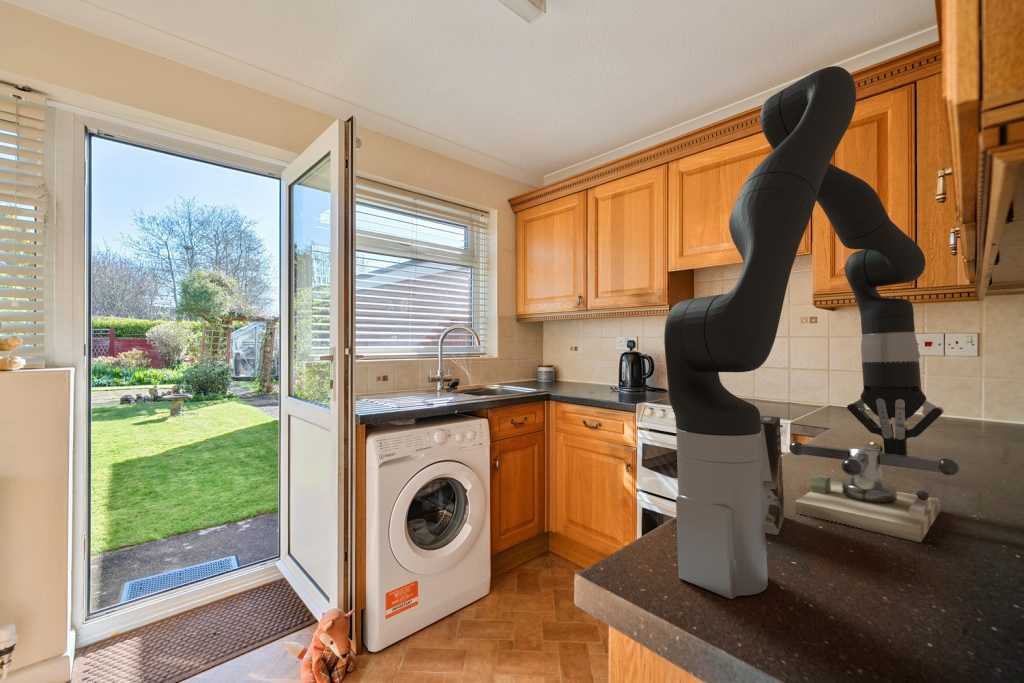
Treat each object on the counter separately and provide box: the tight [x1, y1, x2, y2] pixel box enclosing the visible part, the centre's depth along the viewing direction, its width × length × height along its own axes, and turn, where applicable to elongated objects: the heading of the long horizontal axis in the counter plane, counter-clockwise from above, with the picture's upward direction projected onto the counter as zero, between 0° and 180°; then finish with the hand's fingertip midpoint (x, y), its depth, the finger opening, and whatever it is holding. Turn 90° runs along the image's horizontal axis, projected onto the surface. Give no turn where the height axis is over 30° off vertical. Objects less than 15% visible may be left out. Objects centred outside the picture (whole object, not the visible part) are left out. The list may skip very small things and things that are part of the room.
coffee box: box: [760, 415, 785, 536], centre depth 68 cm, size 9×6×16 cm
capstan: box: [788, 440, 960, 502], centre depth 71 cm, size 22×22×8 cm
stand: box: [794, 474, 941, 543], centre depth 70 cm, size 18×15×4 cm
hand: (896, 460), depth 74 cm, fingers closed
